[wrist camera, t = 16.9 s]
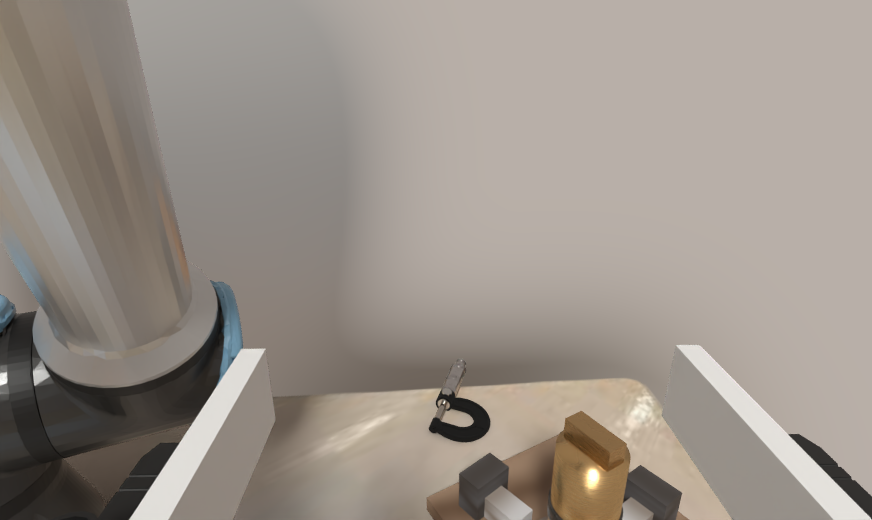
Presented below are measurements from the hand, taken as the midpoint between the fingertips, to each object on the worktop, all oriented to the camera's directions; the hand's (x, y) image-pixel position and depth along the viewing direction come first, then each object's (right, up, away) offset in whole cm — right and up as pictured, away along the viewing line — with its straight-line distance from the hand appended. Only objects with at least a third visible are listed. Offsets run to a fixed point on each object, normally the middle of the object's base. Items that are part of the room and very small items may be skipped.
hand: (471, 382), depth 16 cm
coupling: (+10, -21, +23) cm, 33 cm away
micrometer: (+3, -15, +47) cm, 49 cm away
